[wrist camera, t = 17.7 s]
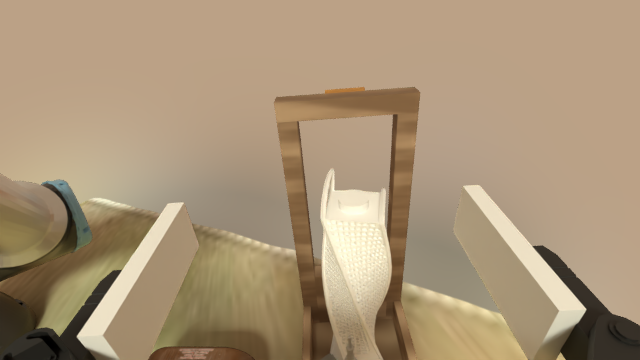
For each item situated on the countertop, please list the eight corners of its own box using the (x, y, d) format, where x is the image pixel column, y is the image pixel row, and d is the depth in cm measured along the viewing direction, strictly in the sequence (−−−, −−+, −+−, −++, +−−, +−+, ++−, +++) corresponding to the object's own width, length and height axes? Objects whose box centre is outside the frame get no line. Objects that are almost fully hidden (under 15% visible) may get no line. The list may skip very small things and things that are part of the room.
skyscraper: (313, 354, 43) (288, 180, 29) (358, 322, 46) (356, 155, 32) (351, 411, 37) (343, 226, 22) (400, 370, 40) (420, 188, 26)
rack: (307, 314, 50) (276, 93, 32) (394, 309, 50) (412, 83, 32) (305, 421, 37) (251, 155, 19) (421, 415, 37) (477, 140, 19)
